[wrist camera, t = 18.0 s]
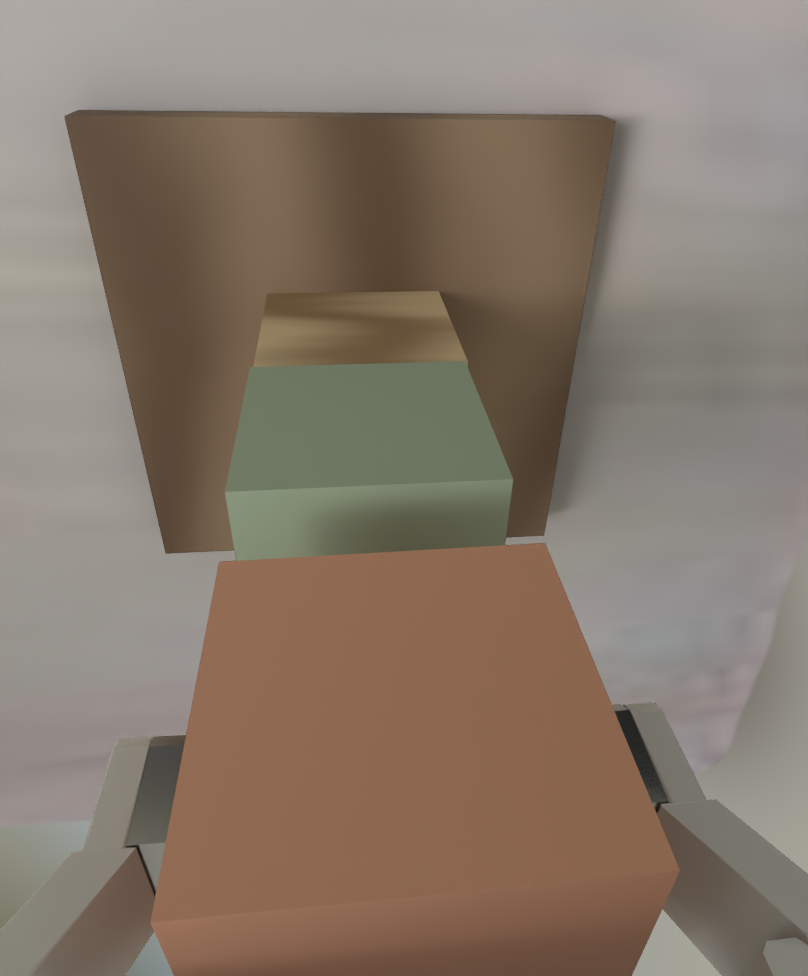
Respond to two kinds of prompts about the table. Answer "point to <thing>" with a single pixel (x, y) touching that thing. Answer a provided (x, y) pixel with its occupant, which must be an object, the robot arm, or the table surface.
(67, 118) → the walnut board
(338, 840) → the terracotta block
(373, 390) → the sage block
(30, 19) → the table surface
